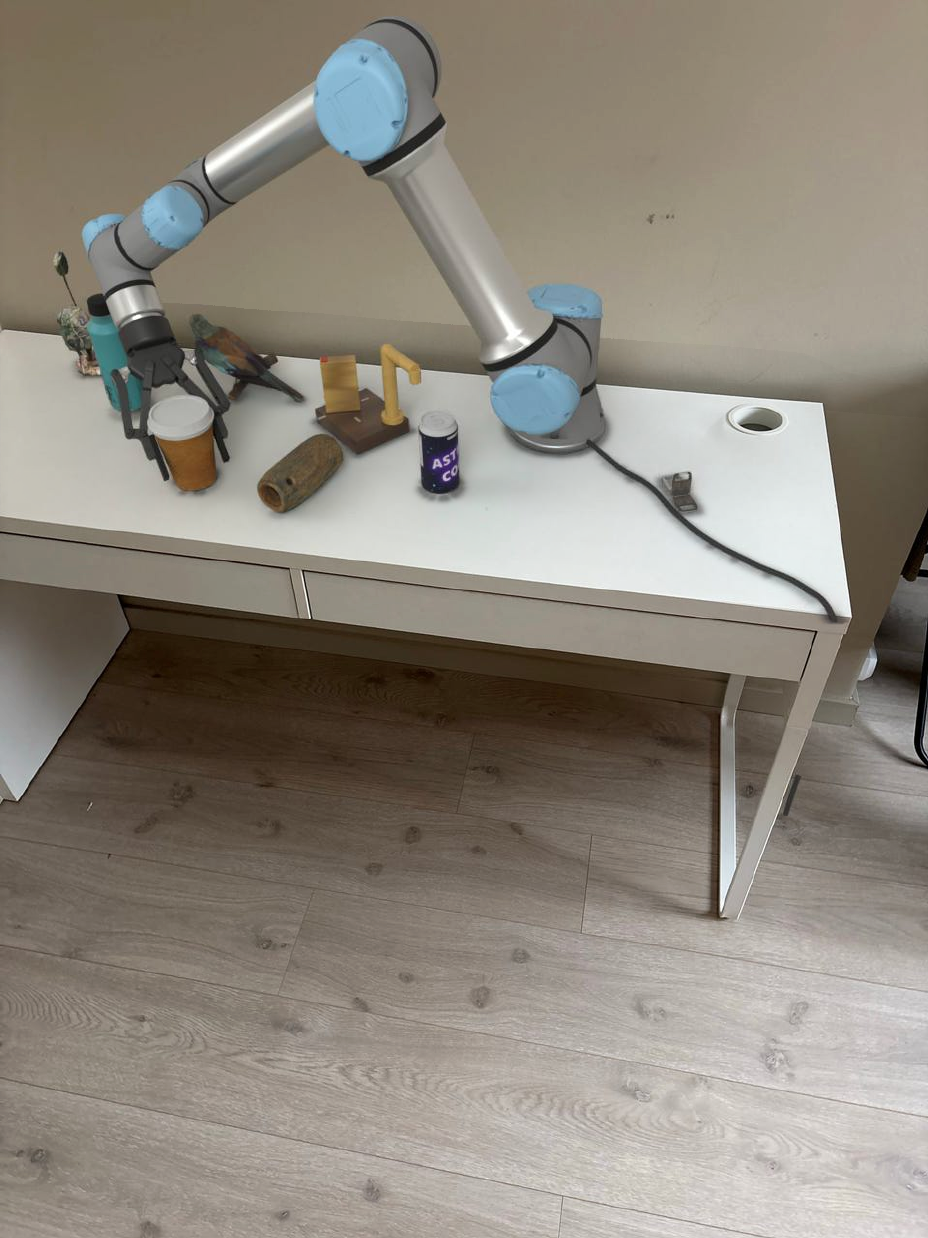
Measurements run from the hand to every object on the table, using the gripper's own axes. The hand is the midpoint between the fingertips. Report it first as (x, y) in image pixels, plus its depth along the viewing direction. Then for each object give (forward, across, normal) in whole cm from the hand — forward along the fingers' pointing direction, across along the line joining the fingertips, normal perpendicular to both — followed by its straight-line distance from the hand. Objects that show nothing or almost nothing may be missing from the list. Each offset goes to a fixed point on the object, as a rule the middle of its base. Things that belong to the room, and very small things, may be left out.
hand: (197, 469), depth 150 cm
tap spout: (+3, -32, +1) cm, 33 cm away
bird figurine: (-14, -16, -20) cm, 30 cm away
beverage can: (+15, -32, +8) cm, 36 cm away
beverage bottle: (-17, +4, -23) cm, 29 cm away
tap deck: (-1, -27, -7) cm, 28 cm away
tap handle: (-4, -26, -6) cm, 27 cm away
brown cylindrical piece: (+8, -14, +2) cm, 16 cm away
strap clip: (+29, -62, +22) cm, 71 cm away
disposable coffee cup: (0, 0, -5) cm, 5 cm away
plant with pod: (-29, +5, -35) cm, 46 cm away
